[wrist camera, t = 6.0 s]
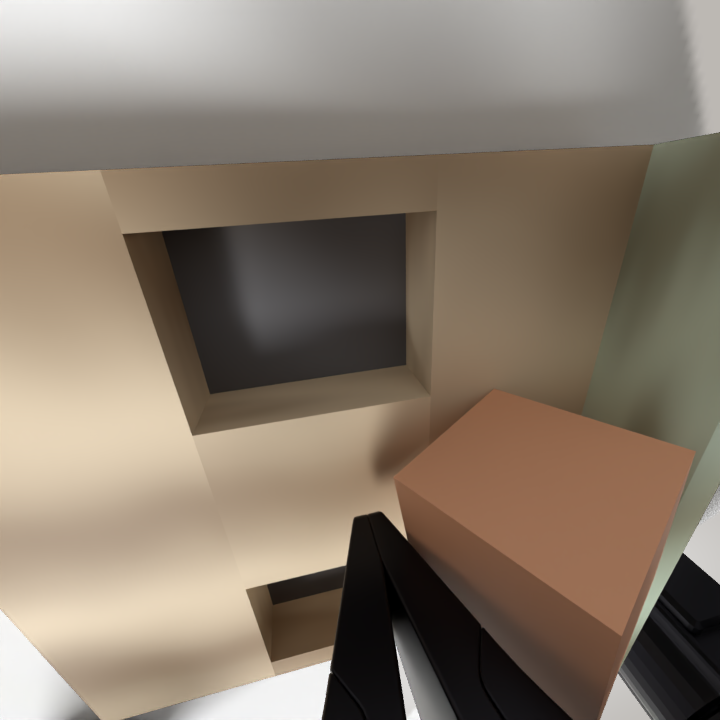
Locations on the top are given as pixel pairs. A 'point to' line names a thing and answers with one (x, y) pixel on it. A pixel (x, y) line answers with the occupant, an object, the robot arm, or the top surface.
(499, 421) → the block
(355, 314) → the board
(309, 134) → the top surface
